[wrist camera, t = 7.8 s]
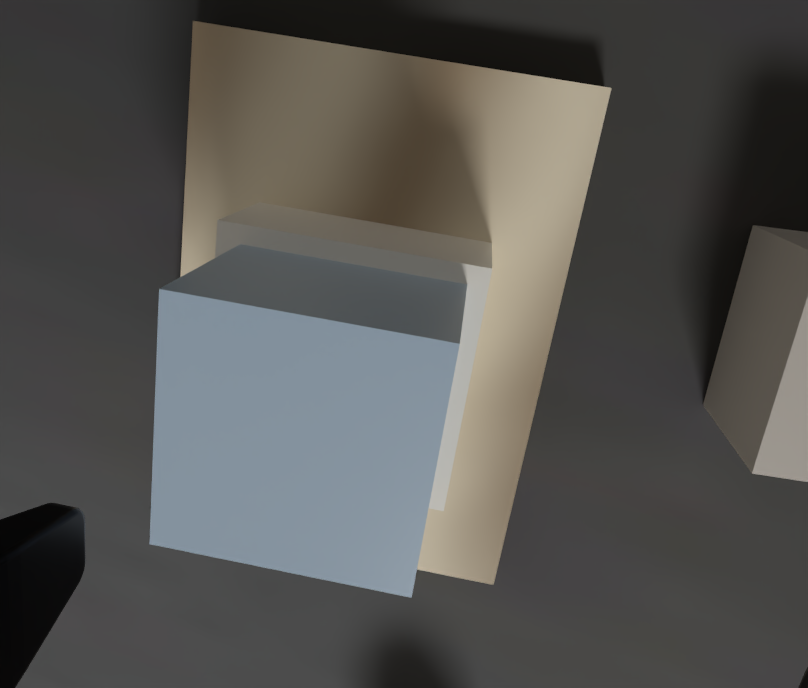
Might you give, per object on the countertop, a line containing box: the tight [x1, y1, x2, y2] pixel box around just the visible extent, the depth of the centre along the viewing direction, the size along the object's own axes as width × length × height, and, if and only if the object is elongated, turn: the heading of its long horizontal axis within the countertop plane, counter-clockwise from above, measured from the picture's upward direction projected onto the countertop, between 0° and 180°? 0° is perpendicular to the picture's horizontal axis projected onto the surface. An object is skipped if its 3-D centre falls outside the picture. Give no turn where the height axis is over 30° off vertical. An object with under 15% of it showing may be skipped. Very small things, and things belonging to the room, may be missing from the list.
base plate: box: [180, 21, 611, 585], centre depth 19 cm, size 10×14×1 cm
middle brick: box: [150, 244, 467, 598], centre depth 14 cm, size 5×5×4 cm
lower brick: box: [215, 202, 492, 511], centre depth 17 cm, size 6×6×3 cm
